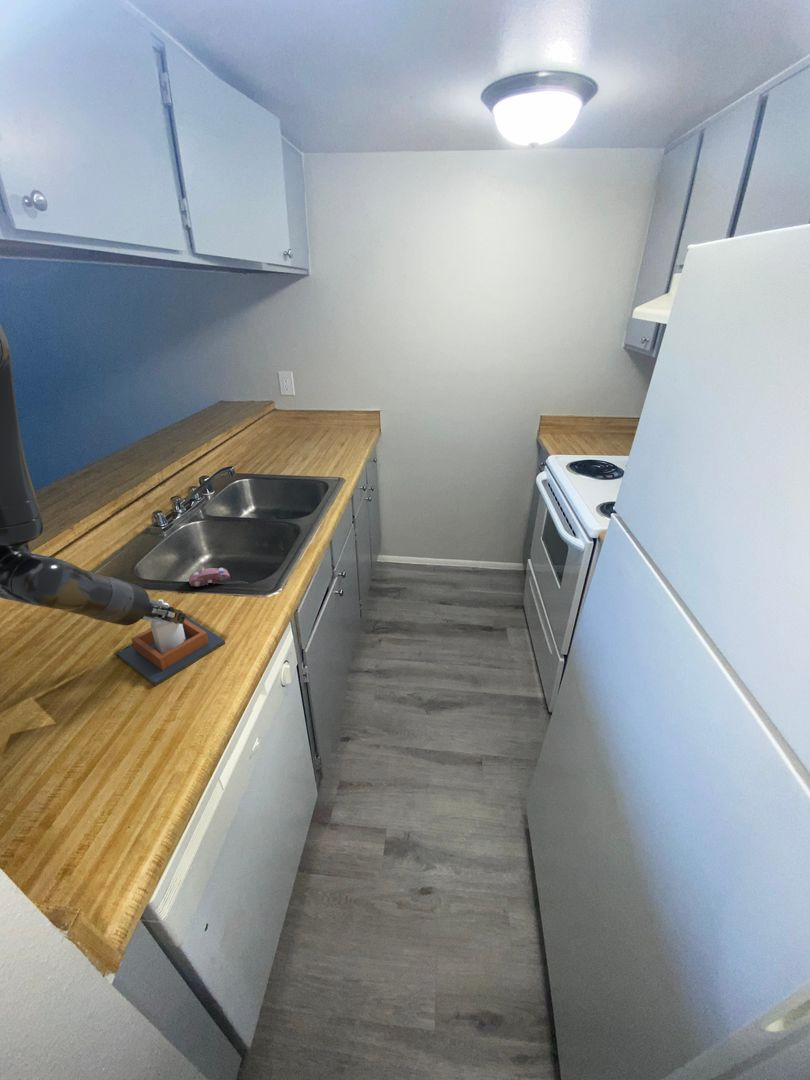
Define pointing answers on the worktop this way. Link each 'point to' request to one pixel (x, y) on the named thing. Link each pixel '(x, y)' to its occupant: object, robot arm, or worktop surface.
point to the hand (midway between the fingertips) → (172, 616)
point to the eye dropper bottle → (167, 634)
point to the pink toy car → (208, 576)
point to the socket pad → (169, 652)
